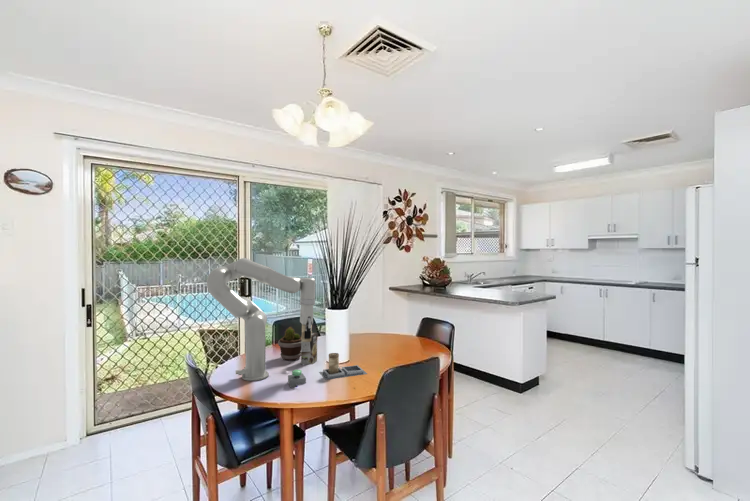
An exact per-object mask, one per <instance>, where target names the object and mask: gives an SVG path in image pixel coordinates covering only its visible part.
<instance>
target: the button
mask: <svg viewBox="0 0 750 501" xmlns="http://www.w3.org/2000/svg"><path fill="white" fill-rule="evenodd" d="M302 372H303V371H302V370H301V369H293V370H292V371H291V375H293V376H295V378H298V377H299V375H301V374H302Z"/></svg>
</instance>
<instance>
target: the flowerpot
mask: <svg viewBox="0 0 750 501" xmlns="http://www.w3.org/2000/svg"><path fill="white" fill-rule="evenodd" d="M277 344H278V347H279V349H280V358H281V359H282V361H288V362H289V361H290V362H293V361H297V360H299V359H301V335H300V334H299V333H297V332H296V331H295V329H294V328H293V326H289V327H288V328H286V329H285V331H284V335H283V337H281V338H279V340H278V342H277Z"/></svg>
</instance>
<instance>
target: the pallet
mask: <svg viewBox="0 0 750 501" xmlns="http://www.w3.org/2000/svg"><path fill="white" fill-rule="evenodd" d="M318 373H319V374H320V375H321V377H323V379H324V380H325V381H328V380H334V379H335V380H336V379H341V378H348V377H355V376H357V377H358V376H363V375H368V373H367V371H365V370H364V369H363V368H362V367H361V366H359V364H356V365H349V366H342V367H339V373H334V374H329V368H325V369H323V370H322V371H318Z"/></svg>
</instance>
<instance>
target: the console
mask: <svg viewBox="0 0 750 501" xmlns="http://www.w3.org/2000/svg"><path fill="white" fill-rule="evenodd" d="M287 383H288V385H289V388H292V389H293V388H297V387H298V385H303V384H306V383H307V378H306V376H305V375H304V373H302V374H301V375H299V377H298V378H295V376H293V375H292V374H289V375H287Z"/></svg>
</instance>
